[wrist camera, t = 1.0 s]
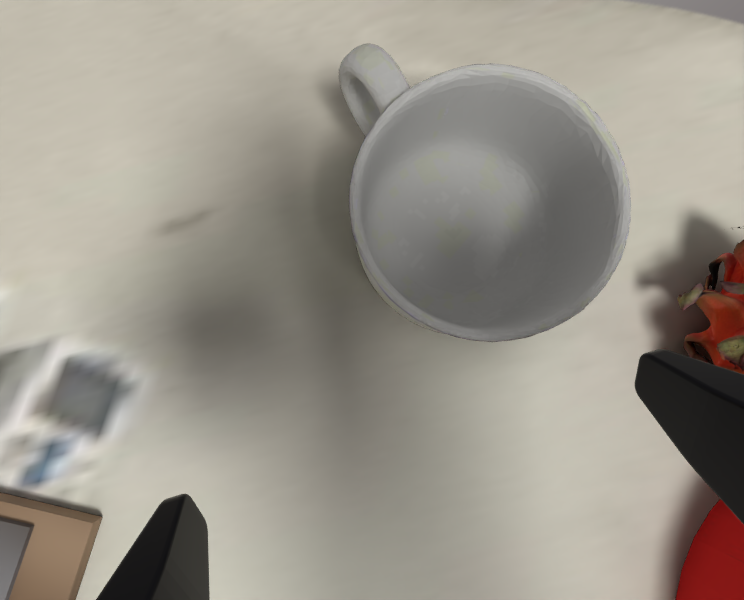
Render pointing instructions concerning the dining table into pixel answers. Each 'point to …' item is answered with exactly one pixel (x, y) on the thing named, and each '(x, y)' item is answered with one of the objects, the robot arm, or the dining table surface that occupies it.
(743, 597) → the toy clock
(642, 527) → the dining table surface
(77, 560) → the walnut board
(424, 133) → the teacup
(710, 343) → the dragon fruit
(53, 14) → the dining table surface
